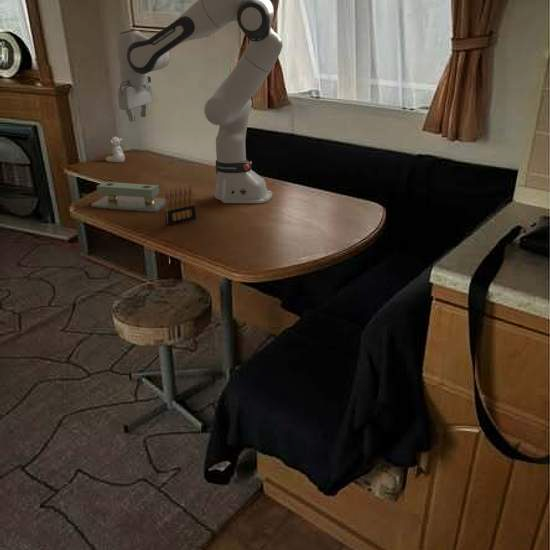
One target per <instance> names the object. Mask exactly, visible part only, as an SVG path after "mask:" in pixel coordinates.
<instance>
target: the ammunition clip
mask: <svg viewBox="0 0 550 550" xmlns="http://www.w3.org/2000/svg"><path fill="white" fill-rule="evenodd" d="M169 191H170V192H169ZM169 191H168V190H167V189H166V190H165V197H164V199H165V224H166V225H167V226H169V227H170V226H173V225H177V224H181V223H185V222H190V221H194V220H197V215H196V208H195V207H196V206H195V201H194V194H193V189H192V185H189V186H188V189H187V186H186V185H185V186H184V189H182V187H181V186H180V187H179V190H178V189H177V188H176V187H175V188H174V192H173V189H172V188H170V190H169ZM178 191H179V192H178ZM169 199H170V201H169Z"/></svg>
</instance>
